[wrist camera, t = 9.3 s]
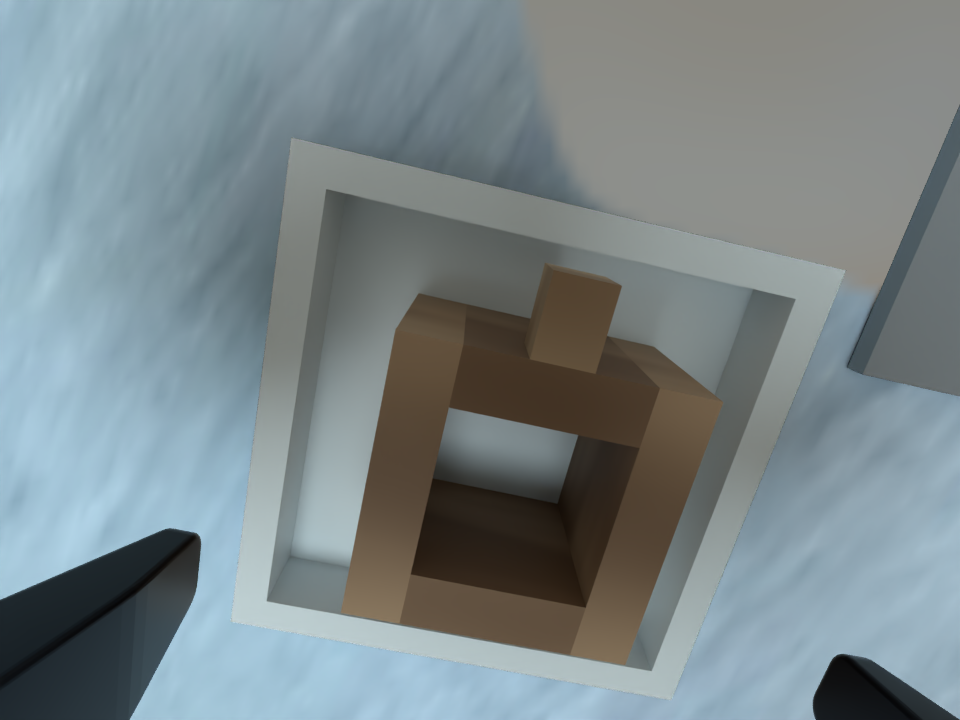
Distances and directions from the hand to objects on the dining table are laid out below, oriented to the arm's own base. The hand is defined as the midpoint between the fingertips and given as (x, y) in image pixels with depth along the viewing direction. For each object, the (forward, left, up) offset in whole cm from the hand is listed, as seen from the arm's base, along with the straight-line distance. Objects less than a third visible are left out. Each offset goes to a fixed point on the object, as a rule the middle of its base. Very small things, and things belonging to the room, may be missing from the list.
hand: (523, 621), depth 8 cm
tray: (0, 0, -8) cm, 8 cm away
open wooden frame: (0, 0, -7) cm, 7 cm away
